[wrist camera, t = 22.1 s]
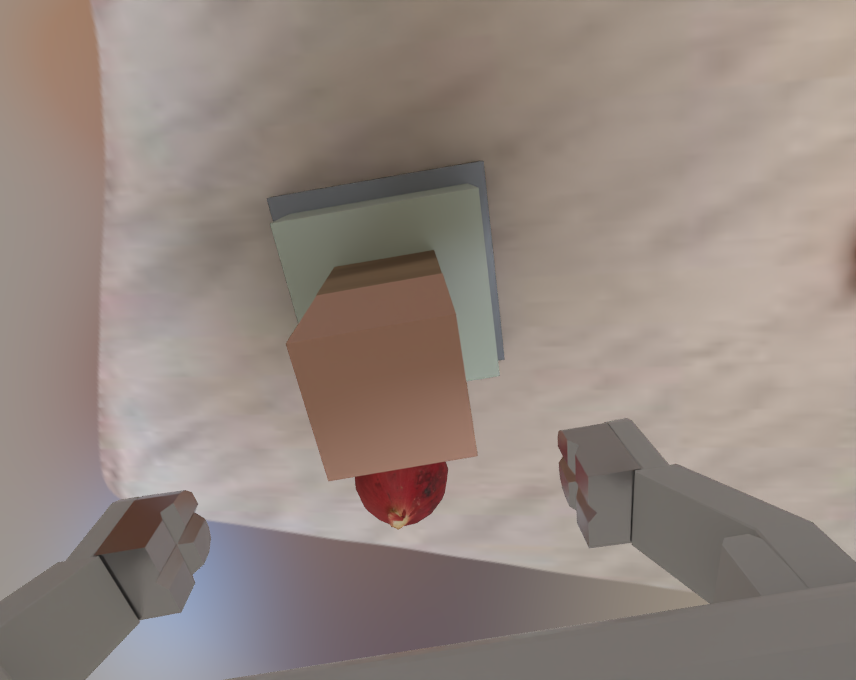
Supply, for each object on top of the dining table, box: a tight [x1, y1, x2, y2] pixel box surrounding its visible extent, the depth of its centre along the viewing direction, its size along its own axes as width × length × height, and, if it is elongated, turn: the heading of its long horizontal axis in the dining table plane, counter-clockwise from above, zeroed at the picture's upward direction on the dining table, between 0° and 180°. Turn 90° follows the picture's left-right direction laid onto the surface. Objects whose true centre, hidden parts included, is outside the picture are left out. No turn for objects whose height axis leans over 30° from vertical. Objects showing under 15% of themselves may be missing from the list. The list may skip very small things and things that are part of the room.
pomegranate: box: [355, 462, 448, 530], centre depth 29 cm, size 6×6×8 cm
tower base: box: [267, 161, 504, 381], centre depth 26 cm, size 12×12×5 cm
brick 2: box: [286, 273, 478, 481], centre depth 16 cm, size 5×5×5 cm
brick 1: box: [316, 250, 442, 296], centre depth 21 cm, size 5×5×5 cm
